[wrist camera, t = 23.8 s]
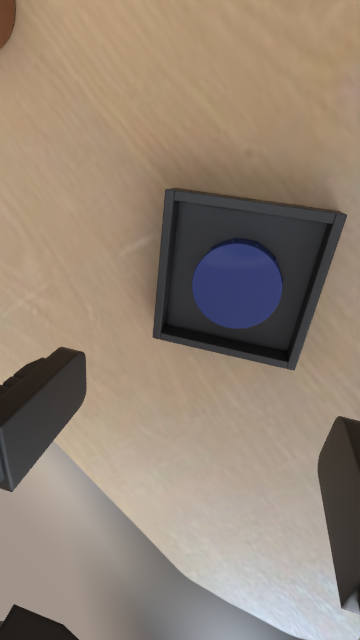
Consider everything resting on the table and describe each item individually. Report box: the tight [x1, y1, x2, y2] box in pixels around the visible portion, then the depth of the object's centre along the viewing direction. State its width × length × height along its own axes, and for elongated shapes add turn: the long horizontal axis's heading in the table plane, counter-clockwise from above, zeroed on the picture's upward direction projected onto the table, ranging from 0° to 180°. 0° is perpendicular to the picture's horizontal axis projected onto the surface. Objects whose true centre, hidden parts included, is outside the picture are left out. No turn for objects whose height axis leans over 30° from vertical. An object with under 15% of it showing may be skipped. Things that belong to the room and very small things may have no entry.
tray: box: [153, 188, 347, 370], centre depth 21 cm, size 11×11×2 cm
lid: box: [192, 237, 283, 329], centre depth 21 cm, size 6×6×2 cm
